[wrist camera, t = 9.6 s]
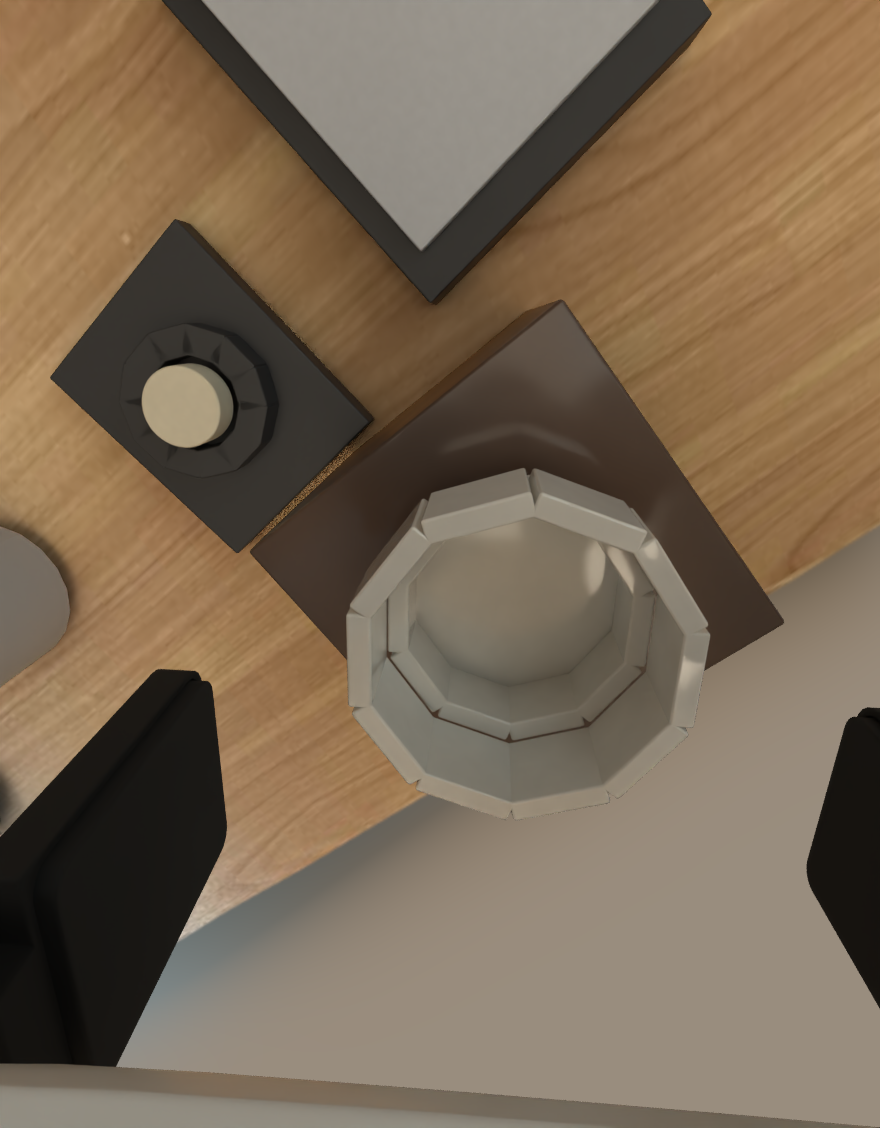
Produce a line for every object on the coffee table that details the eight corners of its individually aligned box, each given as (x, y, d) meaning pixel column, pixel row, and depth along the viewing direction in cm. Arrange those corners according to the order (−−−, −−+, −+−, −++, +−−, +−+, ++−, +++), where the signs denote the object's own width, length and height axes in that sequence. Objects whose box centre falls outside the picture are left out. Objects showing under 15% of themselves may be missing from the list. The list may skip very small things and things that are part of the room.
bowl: (671, 453, 16) (736, 501, 12) (632, 716, 18) (675, 832, 14) (380, 442, 16) (342, 484, 12) (381, 700, 19) (350, 810, 15)
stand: (528, 309, 28) (562, 297, 15) (658, 493, 30) (786, 623, 17) (351, 454, 31) (247, 552, 18) (482, 613, 33) (477, 806, 20)
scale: (690, 45, 25) (719, 5, 21) (435, 305, 28) (429, 303, 25) (407, -351, 22) (393, -464, 18) (163, -2, 25) (118, -48, 22)
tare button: (249, 404, 28) (236, 409, 26) (201, 457, 29) (186, 464, 27) (191, 346, 27) (173, 347, 26) (143, 401, 28) (124, 405, 26)
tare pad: (375, 418, 30) (363, 428, 27) (247, 545, 33) (224, 566, 30) (189, 222, 28) (155, 211, 25) (67, 375, 30) (24, 380, 28)
